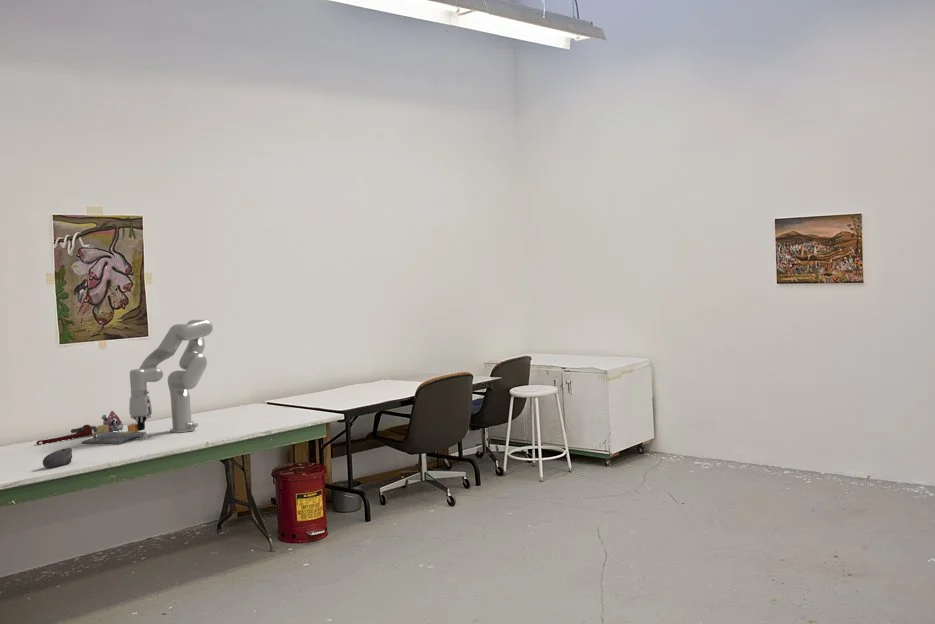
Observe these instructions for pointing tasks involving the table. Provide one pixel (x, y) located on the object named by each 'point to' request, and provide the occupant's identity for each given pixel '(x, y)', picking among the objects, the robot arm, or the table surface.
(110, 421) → the red grey carburetor
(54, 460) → the perforated stone tool
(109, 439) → the bolt plate
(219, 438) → the table surface
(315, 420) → the table surface
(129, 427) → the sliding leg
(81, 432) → the pipe wrench
